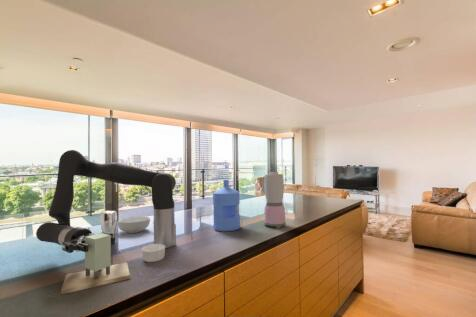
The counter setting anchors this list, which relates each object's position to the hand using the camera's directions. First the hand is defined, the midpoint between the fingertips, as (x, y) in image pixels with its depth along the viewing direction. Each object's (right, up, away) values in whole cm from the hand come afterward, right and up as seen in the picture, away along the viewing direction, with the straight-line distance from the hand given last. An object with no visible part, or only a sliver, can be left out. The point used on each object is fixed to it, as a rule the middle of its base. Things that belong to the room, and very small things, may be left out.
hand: (101, 244), depth 76 cm
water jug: (+38, -13, +60) cm, 72 cm away
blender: (+66, -12, +65) cm, 93 cm away
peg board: (-1, -11, +1) cm, 11 cm away
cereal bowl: (-15, -14, +57) cm, 61 cm away
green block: (-2, -8, +1) cm, 8 cm away
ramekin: (+11, -12, +17) cm, 24 cm away
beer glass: (-18, -13, +37) cm, 43 cm away
